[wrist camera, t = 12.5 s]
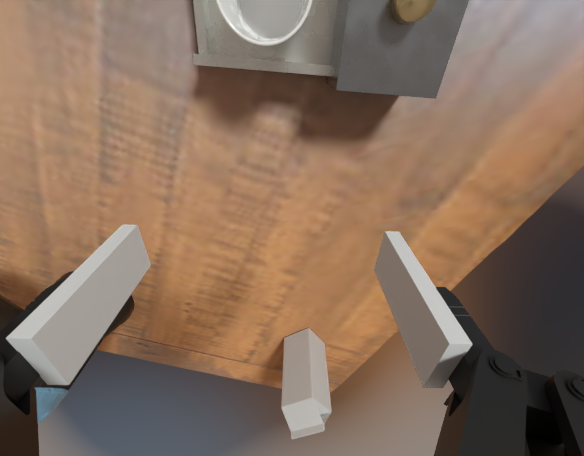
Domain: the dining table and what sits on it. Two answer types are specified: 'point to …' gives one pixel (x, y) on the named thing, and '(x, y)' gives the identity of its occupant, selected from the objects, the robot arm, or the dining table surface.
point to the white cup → (265, 19)
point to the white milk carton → (305, 384)
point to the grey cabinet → (347, 44)
